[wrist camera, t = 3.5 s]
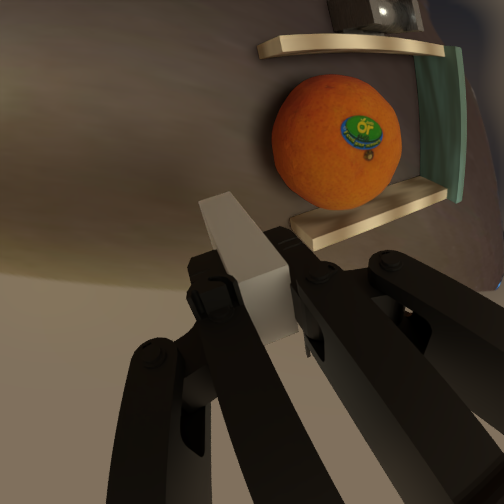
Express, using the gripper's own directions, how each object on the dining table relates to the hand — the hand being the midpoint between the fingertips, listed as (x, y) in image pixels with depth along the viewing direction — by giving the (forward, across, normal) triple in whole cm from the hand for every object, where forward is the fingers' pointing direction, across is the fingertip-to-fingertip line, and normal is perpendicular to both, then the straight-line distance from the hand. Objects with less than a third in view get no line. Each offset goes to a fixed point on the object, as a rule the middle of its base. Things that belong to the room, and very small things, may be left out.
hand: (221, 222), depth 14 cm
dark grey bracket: (+11, +18, +12) cm, 24 cm away
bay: (+11, +17, 0) cm, 20 cm away
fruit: (+11, +11, 0) cm, 15 cm away
